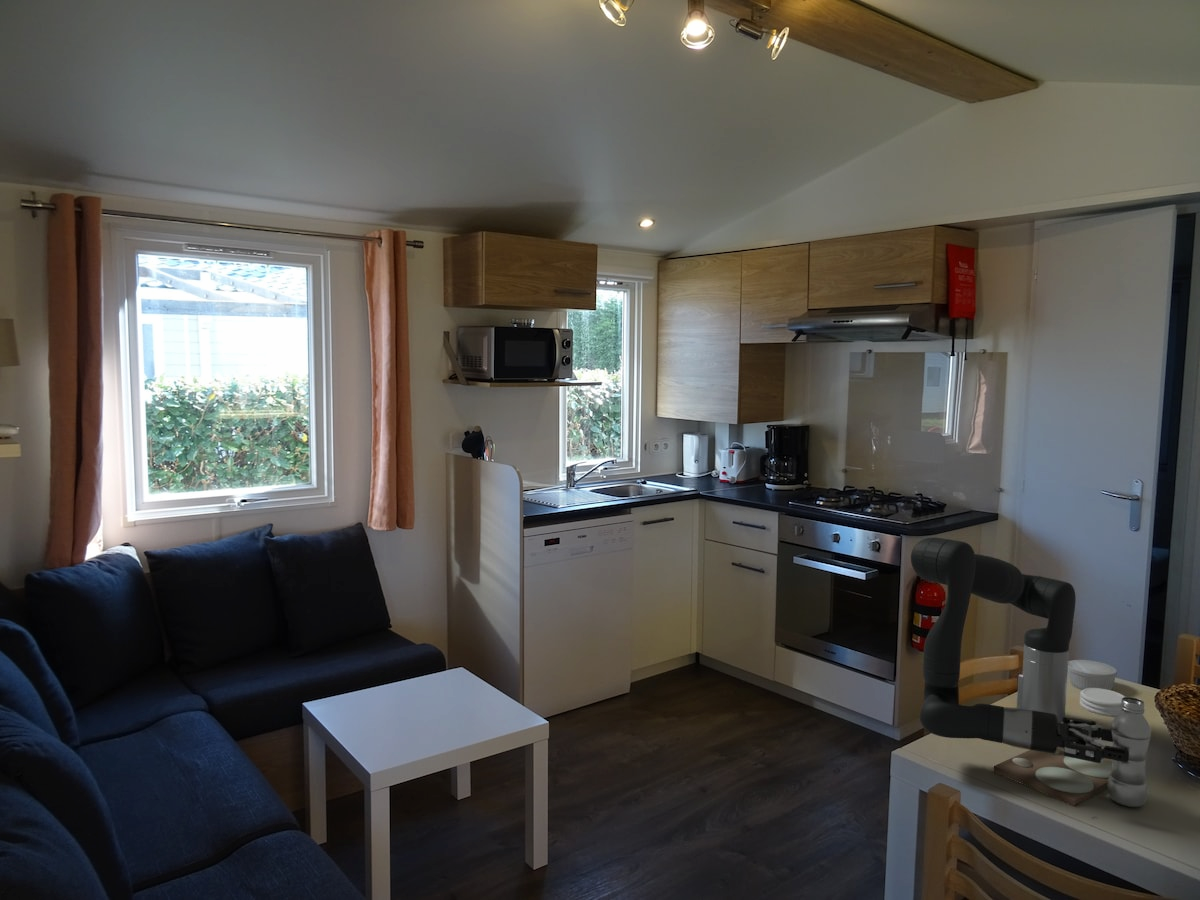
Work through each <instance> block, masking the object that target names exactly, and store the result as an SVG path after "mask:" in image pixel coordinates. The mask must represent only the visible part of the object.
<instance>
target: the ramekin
mask: <svg viewBox="0 0 1200 900" xmlns="http://www.w3.org/2000/svg"><path fill="white" fill-rule="evenodd" d="M1117 674H1118V670H1117V669H1116V668H1115V667H1113V666H1111V665H1109V664H1107V663H1104V662H1102V661H1101V662H1100V661H1095V660H1089V659H1074V660H1068V673H1067V678H1068V681H1069V683H1070V684H1071V685H1072V686H1073V687H1074V688H1076V689H1078V690H1080V691H1082V690H1083V689H1087V688H1100V689H1107V690H1111V691H1112V689H1113V687H1114V683H1115V681H1116V680H1115V679H1116V676H1117Z"/></svg>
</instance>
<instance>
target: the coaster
mask: <svg viewBox="0 0 1200 900" xmlns="http://www.w3.org/2000/svg"><path fill="white" fill-rule="evenodd" d="M1079 695H1080V696H1079V705H1080V707H1081V708H1082V709H1084V710H1086V711H1088V712H1090V713H1093V714H1095V715H1096V714H1097V715H1099V716H1106V717H1116V716H1117V715H1118V714H1119V713H1120V712H1121V711H1122V709H1121V708H1120V707H1121V701H1122V698H1123V697H1126V696H1125V695H1124V694H1122V693H1119V692H1117V691H1114V690H1112V689H1111V690H1107V689H1100V688H1087V689H1083V690H1080V693H1079Z"/></svg>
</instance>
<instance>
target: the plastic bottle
mask: <svg viewBox="0 0 1200 900" xmlns="http://www.w3.org/2000/svg"><path fill="white" fill-rule="evenodd" d="M1120 708H1121V709H1122V711H1121V712H1120V713H1119V714H1118V715H1117V716H1114V717H1113V720H1112V722H1111V724H1110V726H1111V728H1110V729H1112V739H1113V742H1112V747H1117V748H1123V749H1127V750H1128V752H1129V760H1128V762H1123V761H1117V760H1113V761H1112V767H1111V773H1110V776H1109V779H1108V784H1107V788H1106V789H1107V795H1109V797H1110V799H1111V800H1112V801H1114V802H1115V803H1117V804H1118V805H1122V806H1124V807H1130V808H1139V807H1142V806H1143V805H1144V804H1145V803H1146V801H1147V799H1148V785H1147V782H1146V781H1147V779H1146V775H1147V774H1146V763H1147V755H1148V749H1149V745H1150V740H1151V735H1152V730H1151V726H1150V723H1149V722H1148V720H1147V719H1146V718H1145V716H1144V713H1145V701H1144V700H1142V699H1140V698H1137V697H1133V696H1125V697H1123V698H1122V701H1121V707H1120Z"/></svg>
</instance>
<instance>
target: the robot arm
mask: <svg viewBox="0 0 1200 900" xmlns="http://www.w3.org/2000/svg"><path fill="white" fill-rule="evenodd" d="M910 563H911V567H912V569H913V571H914V573H915V574H916V575H917V576H918V577H919V578H921V579H922V580H925V581H927V582H930V583H935V584H939V585H940V584H941V585H945V586H946V587H947V596H946V601H945V605H944V607H943V610H942V612H941V613H940V615H939V616H938V618H937V620H936V621H935V622H934V624H933V625H932V627H931V628H930V629H929V630H928V634H927V635H926V638H925V640H924V646H923V658H922V659H923V660H922V661H923V662H922V673H923V680H924V686H923V687H924V688H923V689H924V690H923V699H922V700H923V701H922V706H921V708H920V711H919V721H920V724H921V725H922V727H923V729H925V730H926V731H927V732H928V733H931V734H933V735H934V736H938V737H942V738H949V739H979V740H980V739H981V740H983V741H989V742H992V743H993V742H994V743H1001V744H1003V745H1004V744H1005V745H1008V746H1011V747H1013V748H1018V749H1023V750H1024V749H1025V750H1034V751H1039V752H1045V753H1050V754H1055V753H1056V747H1061V748H1064V756H1067V757H1072V758H1076V759H1081V760H1086V761H1091V762H1096V763H1101V760H1104V758H1106V759H1110V760H1117V761H1123V762H1128V760H1129V752H1128V750H1127V749H1123V748H1117V747H1113V745H1112V746H1111V745H1104V744H1103V743H1099V742H1097V741H1098V740H1101V741H1105V742H1111V743H1113V739H1112V729H1111V728H1105V727H1102V726H1101V725H1099V724H1097V722H1096V721H1095V720H1094V721H1093V720H1088V719H1087V720H1086V719H1083V718H1082V719H1081V718H1080V719H1079V718H1075V717H1074V718H1073V717H1067V716H1066V705H1067V690H1068V689H1067V687H1068V662H1069V653H1070V642H1071V640H1072V636H1073V635H1072V634H1073V627H1074V626H1073V625H1074V616H1075V611H1076V610H1075V609H1076V602H1077V601H1076V598H1077V597H1076V592H1075V588H1074V586H1073V585H1072V584H1071V583H1069V582H1068V581H1064V580H1063V581H1062V580H1059V579H1054V578H1050V577H1045V576H1041V575H1031V574H1024V573H1022V572H1021V570H1020V569H1019V568H1018V567H1017V566H1015V565H1014V564H1012V563H1010V562H1008V561H1005V560H1002V559H999V558H997V557H993V556H989V555H984V554H980V553H979V554H977V553H975V550H974V549H973V547H972V545H970V543H967V542H965V541H960V540H957V539H956V540H955V539H950V538H949V539H947V538H941V537H936V536H935V537H926V538H923V539H921V540H919V541H918V542H917V543H916V544H915V545H914V546H913V548H912V550H911V553H910ZM971 595H974V596H976V597H979V598H982V599H985V600H987V601H991V602H994V603H997V604H1003V605H1004V604H1005V605H1006V604H1010V605H1012V606H1014V607H1016V608H1018V609H1020V610H1021V611H1023V612H1025V613H1027V614H1029V615H1032V616H1036V617H1039V618H1044V619H1047V620H1048V621H1047V625H1046V627H1042V628H1032V629H1029V630H1027V631H1026V632H1025V633H1024V641H1023V642H1024V643H1023V655H1022V656H1023V657H1022V658H1023V659H1022V660H1023V663H1022V673H1020V674H1018V679H1017V694H1016V695H1017V698H1016V707H1008V706H1007V707H1006V706H1002V705H1001V706H1000V705H995V704H989V703H976V704H974V705H963V704H960V695H959V681H960V675H961V653H962V643H963V642H962V640H963V633H964V628H965V623H966V618H967V613H968V610H969V605H970V601H971ZM1096 740H1097V741H1096ZM1091 756H1093V757H1091Z"/></svg>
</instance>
